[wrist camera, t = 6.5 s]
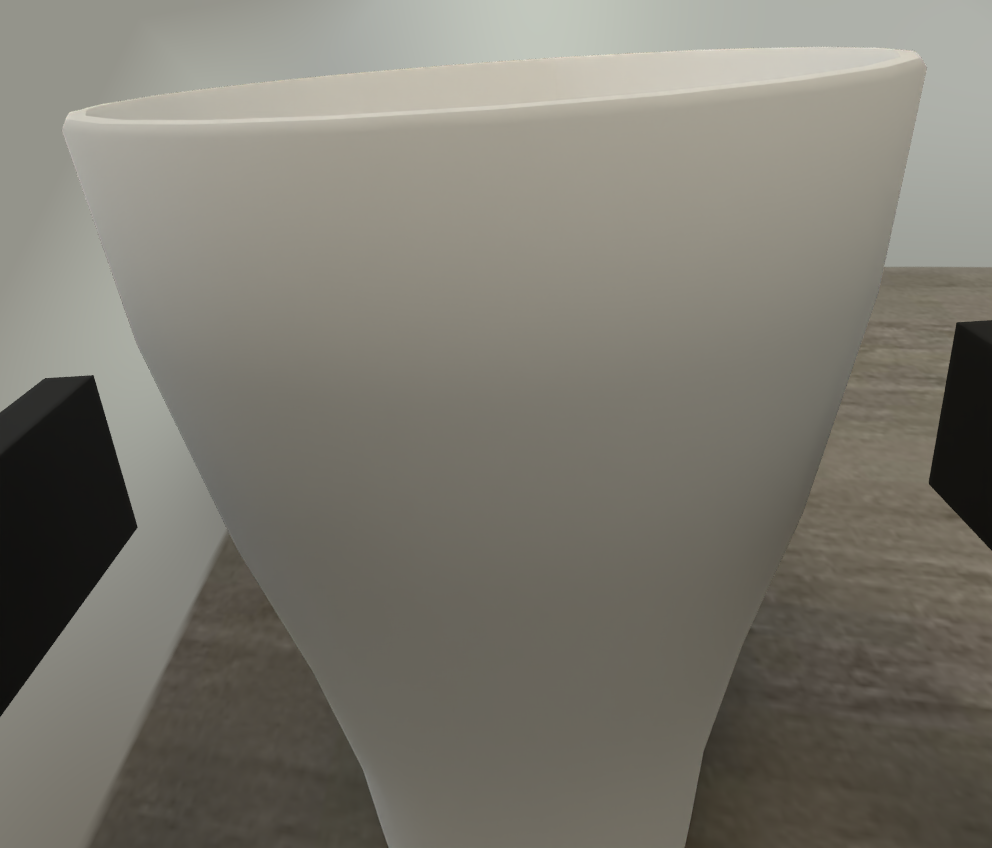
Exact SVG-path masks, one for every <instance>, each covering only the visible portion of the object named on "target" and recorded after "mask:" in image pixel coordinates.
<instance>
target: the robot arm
mask: <svg viewBox="0 0 992 848" xmlns="http://www.w3.org/2000/svg"><path fill="white" fill-rule="evenodd" d="M929 485H930V486H931V487H932V488H933V489H934V490H935V491H936V492H937V493H938V494H939V495H940V496H941V497H942V498H943V499H944V500H945V502H946V503H947V504H948V505H949V506H950V507H951V508H952V509H953V510H954V511H955V512H956V513H957V514H958V515H959V516H960V517H961V518H962V520H963V521H964V522H965V523H966V524H967V525H968V526H969V527H970V528H971V529H972V530H973V531H974V532H975V533H976V534H977V535H978V537H979V538H980V539H981V540H982V541H983V542H984V543H985V544H986V545H987V546H988V547H989V548H990V549H991V550H992V320H990V321H973V322H957V323H956V329H955V335H954V341H953V346H952V352H951V358H950V363H949V369H948V375H947V381H946V386H945V392H944V398H943V404H942V409H941V415H940V421H939V427H938V432H937V438H936V444H935V450H934V455H933V461H932V467H931V473H930V478H929ZM136 529H137V524H136V520H135V517H134V513H133V510H132V507H131V503H130V500H129V496H128V493H127V489H126V486H125V482H124V479H123V475H122V473H121V469H120V465H119V462H118V458H117V455H116V451H115V448H114V445H113V441H112V437H111V434H110V431H109V427H108V424H107V420H106V417H105V414H104V410H103V406H102V403H101V400H100V396H99V393H98V390H97V386H96V382H95V379H94V376H93V375H92V376H75V377H59V378H45V379H43V380H42V381H41V382H39V383H38V384H37V385H35V386H34V387H33V388H32V389H30V390H29V391H28V392H26V393H25V394H24V395H23V396H21V397H20V398H19V399H17V400H16V401H15V402H14V403H12V404H11V405H10V406H8V407H7V408H6V409H4V410H3V411H2V412H0V716H1V715H2V714H3V712H4V711H5V710H6V708H7V707H8V705H9V704H10V703H11V701H12V700H13V698H14V697H15V696H16V694H17V693H18V692H19V690H20V689H21V687H22V686H23V685H24V683H25V682H26V681H27V679H28V678H29V676H30V675H31V674H32V672H33V671H34V670H35V668H36V667H37V665H38V664H39V663H40V661H41V660H42V659H43V657H44V656H45V654H46V653H47V652H48V650H49V649H50V647H51V646H52V645H53V643H54V642H55V641H56V639H57V638H58V636H59V635H60V634H61V632H62V631H63V630H64V628H65V627H66V625H67V624H68V622H69V621H70V620H71V618H72V617H73V616H74V614H75V613H76V612H77V610H78V609H79V607H80V606H81V605H82V603H83V602H84V601H85V599H86V598H87V596H88V595H89V594H90V592H91V591H92V590H93V588H94V587H95V585H96V584H97V583H98V581H99V580H100V579H101V577H102V576H103V574H104V573H105V572H106V570H107V569H108V567H109V566H110V564H111V563H112V562H113V561H114V559H115V557H116V556H117V555H118V554H119V552H120V551H121V550H122V548H123V547H124V545H125V544H126V543H127V541H128V540H129V539H130V537H131V536H132V534H133V533H134V531H135V530H136Z"/></svg>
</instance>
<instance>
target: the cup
mask: <svg viewBox="0 0 992 848" xmlns="http://www.w3.org/2000/svg"><path fill="white" fill-rule="evenodd" d="M926 70H927V67H926V65H925V64H924V62H923V60H922V58H921V57H920V55H918V53H917V52H915V51H909V50H899V49H888V48H865V47H864V48H863V47H862V48H861V47H788V48H787V47H786V48H785V47H783V48H744V49H715V50H689V51H688V50H687V51H667V52H646V53H625V54H609V55H591V56H574V57H558V58H543V59H527V60H513V61H498V62H484V63H471V64H458V65H445V66H434V67H433V66H432V67H419V68H408V69H396V70H384V71H373V72H361V73H350V74H340V75H329V76H319V77H309V78H299V79H288V80H278V81H270V82H260V83H252V84H242V85H233V86H225V87H217V88H208V89H200V90H192V91H185V92H177V93H169V94H163V95H155V96H149V97H142V98H136V99H130V100H124V101H118V102H112V103H106V104H100V105H96V106H92V107H88V108H84V109H80V110H76V111H73V112H70V113H69V114H68V116H67V118H66V119H65V122H64V125H63V128H62V133H63V136H64V138H65V141H66V144H67V147H68V150H69V153H70V156H71V159H72V161H73V164H74V167H75V170H76V173H77V175H78V178H79V181H80V184H81V187H82V190H83V193H84V196H85V198H86V201H87V204H88V207H89V210H90V212H91V215H92V218H93V221H94V224H95V227H96V229H97V233H98V235H99V238H100V241H101V244H102V247H103V250H104V252H105V255H106V258H107V261H108V264H109V267H110V269H111V272H112V275H113V278H114V281H115V284H116V286H117V289H118V292H119V295H120V298H121V300H122V304H123V306H124V309H125V312H126V315H127V318H128V321H129V323H130V326H131V329H132V332H133V335H134V338H135V341H136V343H137V345H138V348H139V349H140V352H141V354H142V356H143V358H144V360H145V362H146V364H147V366H148V368H149V370H150V372H151V374H152V376H153V378H154V380H155V382H156V384H157V386H158V388H159V390H160V392H161V395H162V397H163V399H164V401H165V403H166V405H167V407H168V409H169V411H170V413H171V415H172V417H173V419H174V421H175V423H176V425H177V427H178V429H179V431H180V433H181V435H182V438H183V440H184V441H185V444H186V446H187V448H188V450H189V452H190V454H191V456H192V458H193V460H194V462H195V464H196V466H197V468H198V470H199V472H200V474H201V476H202V479H203V481H204V483H205V485H206V487H207V488H208V491H209V493H210V495H211V497H212V499H213V501H214V503H215V505H216V507H217V509H218V511H219V513H220V515H221V517H222V519H223V522H224V524H225V525H226V527H227V530H228V532H229V534H230V536H231V538H232V540H233V542H234V544H235V546H236V548H237V550H238V552H239V553H240V555H241V557H242V558H243V560H244V561H245V563H246V565H247V566H248V568H249V569H250V571H251V573H252V574H253V576H254V578H255V579H256V581H257V582H258V584H259V586H260V587H261V589H262V591H263V592H264V594H265V595H266V597H267V599H268V600H269V602H270V603H271V605H272V607H273V608H274V610H275V612H276V613H277V615H278V616H279V618H280V620H281V621H282V623H283V625H284V626H285V628H286V629H287V631H288V633H289V634H290V636H291V637H292V639H293V641H294V642H295V644H296V646H297V647H298V649H299V650H300V652H301V654H302V655H303V657H304V659H305V660H306V662H307V663H308V665H309V667H310V668H311V670H312V671H313V673H314V675H315V677H316V679H317V681H318V683H319V685H320V687H321V689H322V691H323V693H324V695H325V697H326V699H327V701H328V703H329V705H330V706H331V708H332V710H333V712H334V714H335V716H336V718H337V720H338V722H339V724H340V726H341V728H342V730H343V732H344V734H345V736H346V738H347V740H348V742H349V743H350V745H351V747H352V749H353V751H354V753H355V755H356V757H357V759H358V761H359V763H360V765H361V767H362V769H363V771H364V775H365V778H366V781H367V784H368V787H369V790H370V793H371V796H372V799H373V802H374V805H375V808H376V811H377V815H378V818H379V821H380V824H381V827H382V830H383V833H384V836H385V839H386V842H387V845H388V848H685V844H686V839H687V834H688V830H689V825H690V820H691V815H692V809H693V804H694V799H695V794H696V788H697V783H698V778H699V772H700V767H701V762H702V757H703V751H704V749H705V746H706V743H707V741H708V738H709V735H710V732H711V730H712V727H713V724H714V721H715V719H716V716H717V713H718V710H719V708H720V705H721V702H722V699H723V697H724V694H725V691H726V688H727V686H728V683H729V680H730V678H731V675H732V672H733V669H734V667H735V664H736V661H737V658H738V656H739V653H740V650H741V647H742V645H743V642H744V640H745V638H746V636H747V634H748V631H749V629H750V627H751V625H752V623H753V621H754V618H755V616H756V614H757V612H758V610H759V607H760V605H761V603H762V601H763V599H764V597H765V594H766V592H767V590H768V588H769V586H770V583H771V581H772V579H773V577H774V575H775V573H776V570H777V568H778V566H779V564H780V562H781V559H782V557H783V555H784V553H785V551H786V549H787V546H788V544H789V542H790V540H791V538H792V535H793V533H794V531H795V529H796V527H797V525H798V522H799V520H800V518H801V516H802V514H803V511H804V508H805V505H806V502H807V499H808V497H809V494H810V491H811V488H812V485H813V482H814V479H815V476H816V473H817V470H818V467H819V464H820V462H821V459H822V456H823V453H824V450H825V447H826V444H827V441H828V438H829V435H830V432H831V429H832V426H833V424H834V421H835V418H836V415H837V412H838V409H839V406H840V403H841V400H842V397H843V394H844V391H845V389H846V386H847V383H848V380H849V377H850V374H851V371H852V368H853V365H854V362H855V359H856V356H857V353H858V351H859V348H860V345H861V342H862V339H863V336H864V333H865V330H866V327H867V324H868V321H869V318H870V316H871V313H872V310H873V307H874V304H875V301H876V298H877V295H878V292H879V287H880V283H881V278H882V274H883V269H884V264H885V259H886V255H887V250H888V245H889V241H890V236H891V232H892V227H893V222H894V218H895V213H896V209H897V204H898V199H899V194H900V190H901V186H902V181H903V176H904V172H905V167H906V162H907V157H908V153H909V149H910V143H911V139H912V135H913V130H914V125H915V121H916V116H917V111H918V107H919V102H920V98H921V93H922V88H923V84H924V78H925V74H926Z"/></svg>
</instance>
